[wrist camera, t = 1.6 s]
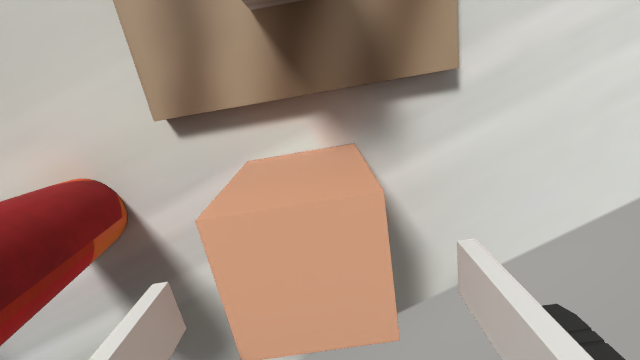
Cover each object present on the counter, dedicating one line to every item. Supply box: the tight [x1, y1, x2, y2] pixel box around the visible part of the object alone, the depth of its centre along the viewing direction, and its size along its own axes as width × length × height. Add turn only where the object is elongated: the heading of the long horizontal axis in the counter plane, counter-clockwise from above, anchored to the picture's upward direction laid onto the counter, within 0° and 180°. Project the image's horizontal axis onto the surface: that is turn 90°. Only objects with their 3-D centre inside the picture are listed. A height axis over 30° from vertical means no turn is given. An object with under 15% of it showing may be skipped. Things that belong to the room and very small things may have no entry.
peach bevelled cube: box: [195, 144, 400, 360], centre depth 18 cm, size 8×8×10 cm
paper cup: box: [0, 179, 127, 346], centre depth 17 cm, size 8×8×14 cm
